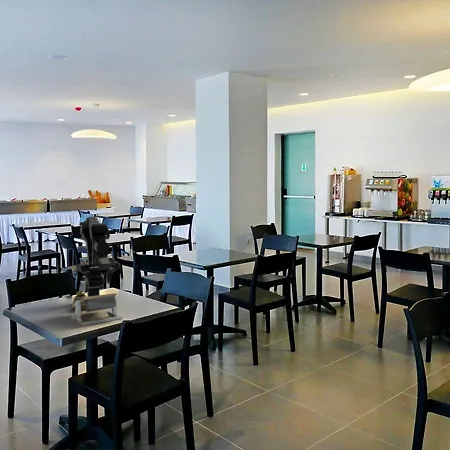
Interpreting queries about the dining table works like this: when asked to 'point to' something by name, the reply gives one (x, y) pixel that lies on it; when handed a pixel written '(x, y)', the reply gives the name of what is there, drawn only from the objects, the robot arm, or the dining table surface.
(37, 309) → the dining table surface
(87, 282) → the robot arm
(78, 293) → the bronze domed piece
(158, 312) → the dining table surface
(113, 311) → the trapdoor frame
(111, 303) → the trapdoor
